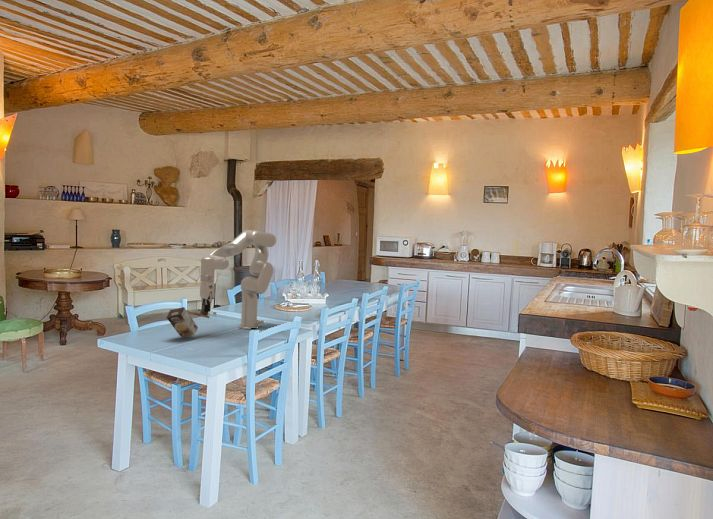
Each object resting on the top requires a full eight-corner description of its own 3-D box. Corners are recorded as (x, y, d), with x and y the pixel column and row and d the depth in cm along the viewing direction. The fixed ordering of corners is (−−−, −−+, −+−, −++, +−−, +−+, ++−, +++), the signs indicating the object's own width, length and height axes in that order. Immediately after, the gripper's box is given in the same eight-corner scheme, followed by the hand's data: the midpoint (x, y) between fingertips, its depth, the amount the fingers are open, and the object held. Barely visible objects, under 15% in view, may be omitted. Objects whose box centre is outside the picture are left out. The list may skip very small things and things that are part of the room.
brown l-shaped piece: (203, 315, 285) (209, 297, 287) (208, 318, 280) (214, 299, 281) (184, 311, 278) (190, 292, 279) (189, 313, 272) (195, 294, 274)
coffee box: (180, 338, 276) (165, 317, 267) (184, 330, 281) (169, 309, 272) (195, 335, 273) (180, 314, 264) (198, 327, 279) (184, 306, 270)
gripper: (219, 280, 277) (218, 313, 279) (207, 276, 289) (206, 308, 291) (207, 280, 272) (205, 314, 274) (195, 277, 285) (193, 309, 286)
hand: (206, 310), depth 282 cm, fingers closed on brown l-shaped piece, 3 cm apart
